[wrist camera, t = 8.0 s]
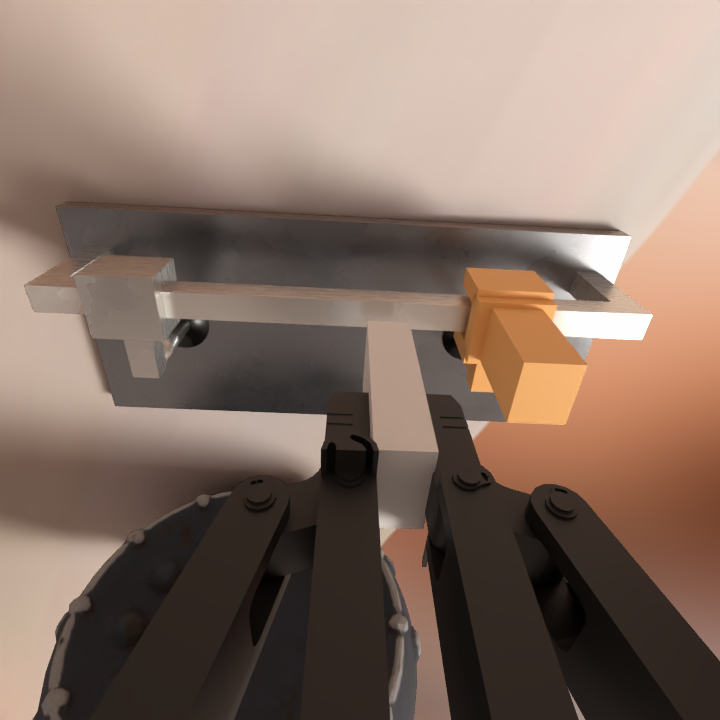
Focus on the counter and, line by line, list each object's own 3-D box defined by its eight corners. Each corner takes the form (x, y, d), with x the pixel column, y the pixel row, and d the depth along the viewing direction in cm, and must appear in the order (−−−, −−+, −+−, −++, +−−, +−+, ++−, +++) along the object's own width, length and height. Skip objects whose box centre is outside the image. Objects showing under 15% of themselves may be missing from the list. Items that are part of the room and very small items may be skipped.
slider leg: (436, 345, 25) (476, 480, 17) (453, 245, 22) (512, 347, 14) (489, 347, 25) (556, 483, 17) (513, 248, 22) (609, 352, 14)
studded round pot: (130, 459, 31) (-139, 902, 14) (411, 480, 33) (467, 914, 16) (152, 554, 37) (-24, 952, 20) (390, 569, 38) (415, 958, 21)
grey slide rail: (118, 319, 26) (50, 386, 20) (93, 225, 23) (6, 271, 17) (565, 340, 26) (620, 409, 21) (595, 250, 24) (669, 303, 18)
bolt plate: (122, 396, 29) (114, 406, 28) (67, 201, 22) (54, 207, 21) (555, 414, 29) (561, 425, 28) (621, 230, 23) (632, 237, 22)
